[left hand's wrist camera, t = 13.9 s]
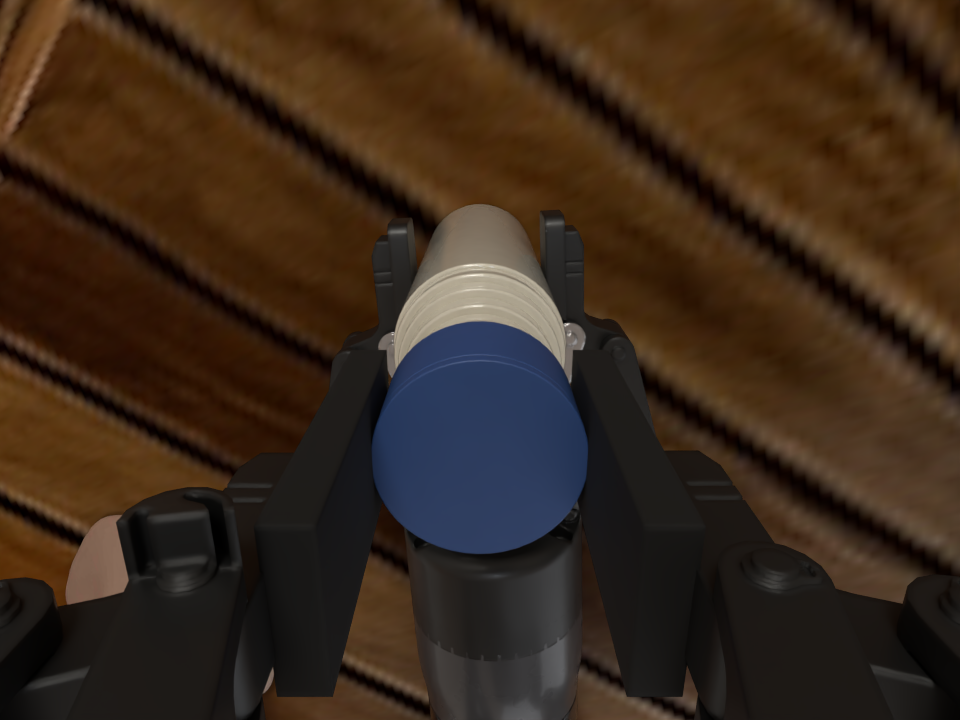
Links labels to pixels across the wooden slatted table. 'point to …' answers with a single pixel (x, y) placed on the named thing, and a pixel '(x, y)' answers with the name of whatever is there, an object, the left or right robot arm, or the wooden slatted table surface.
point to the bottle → (479, 282)
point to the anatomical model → (102, 567)
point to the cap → (479, 440)
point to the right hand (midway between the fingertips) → (475, 219)
